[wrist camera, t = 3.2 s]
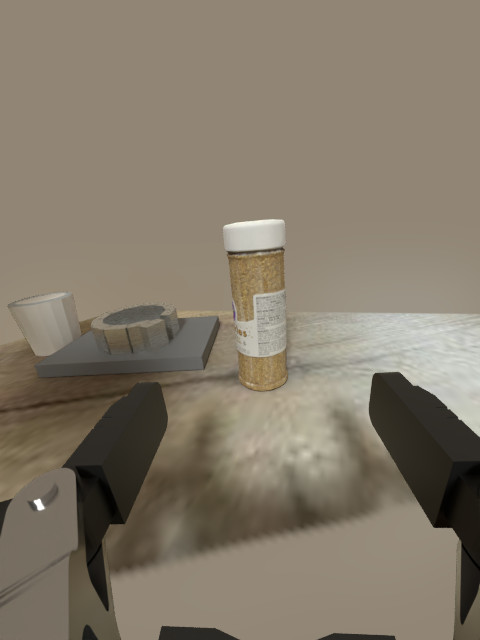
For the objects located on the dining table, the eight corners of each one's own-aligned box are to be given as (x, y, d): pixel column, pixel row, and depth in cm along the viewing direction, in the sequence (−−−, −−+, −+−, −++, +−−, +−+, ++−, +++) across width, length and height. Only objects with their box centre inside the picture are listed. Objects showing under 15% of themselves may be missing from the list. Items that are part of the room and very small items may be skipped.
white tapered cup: (23, 350, 34) (2, 302, 31) (78, 332, 39) (63, 289, 36) (36, 363, 30) (12, 308, 27) (95, 342, 34) (79, 293, 32)
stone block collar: (79, 357, 27) (70, 332, 25) (123, 325, 35) (118, 305, 34) (163, 353, 26) (157, 326, 25) (187, 320, 35) (183, 300, 34)
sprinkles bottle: (232, 372, 24) (215, 225, 19) (274, 361, 25) (268, 220, 20) (249, 400, 20) (232, 222, 15) (298, 385, 21) (297, 216, 16)
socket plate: (39, 377, 26) (34, 365, 26) (103, 332, 38) (100, 323, 37) (203, 369, 25) (201, 356, 24) (219, 325, 36) (218, 315, 36)
